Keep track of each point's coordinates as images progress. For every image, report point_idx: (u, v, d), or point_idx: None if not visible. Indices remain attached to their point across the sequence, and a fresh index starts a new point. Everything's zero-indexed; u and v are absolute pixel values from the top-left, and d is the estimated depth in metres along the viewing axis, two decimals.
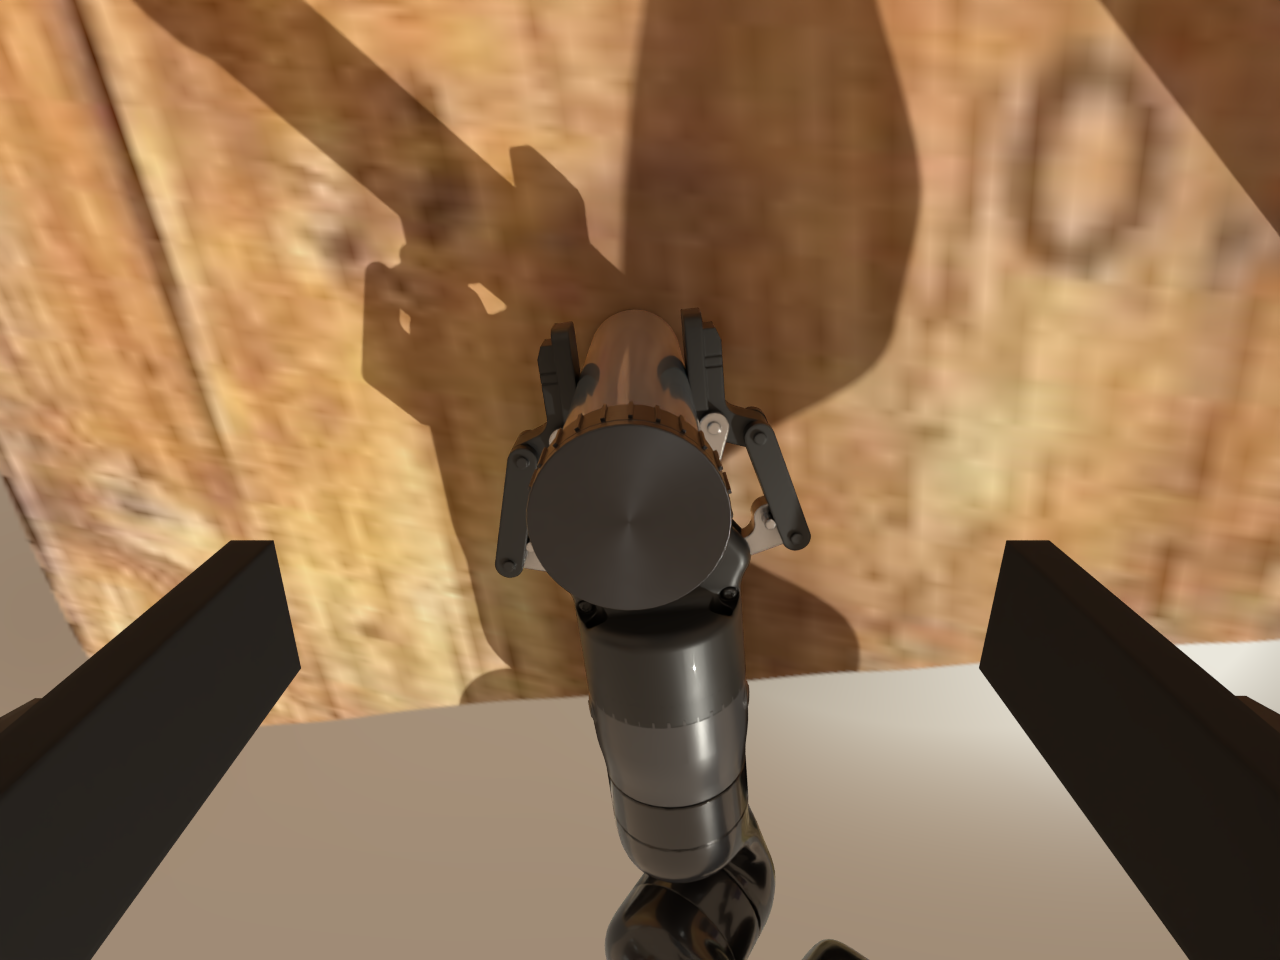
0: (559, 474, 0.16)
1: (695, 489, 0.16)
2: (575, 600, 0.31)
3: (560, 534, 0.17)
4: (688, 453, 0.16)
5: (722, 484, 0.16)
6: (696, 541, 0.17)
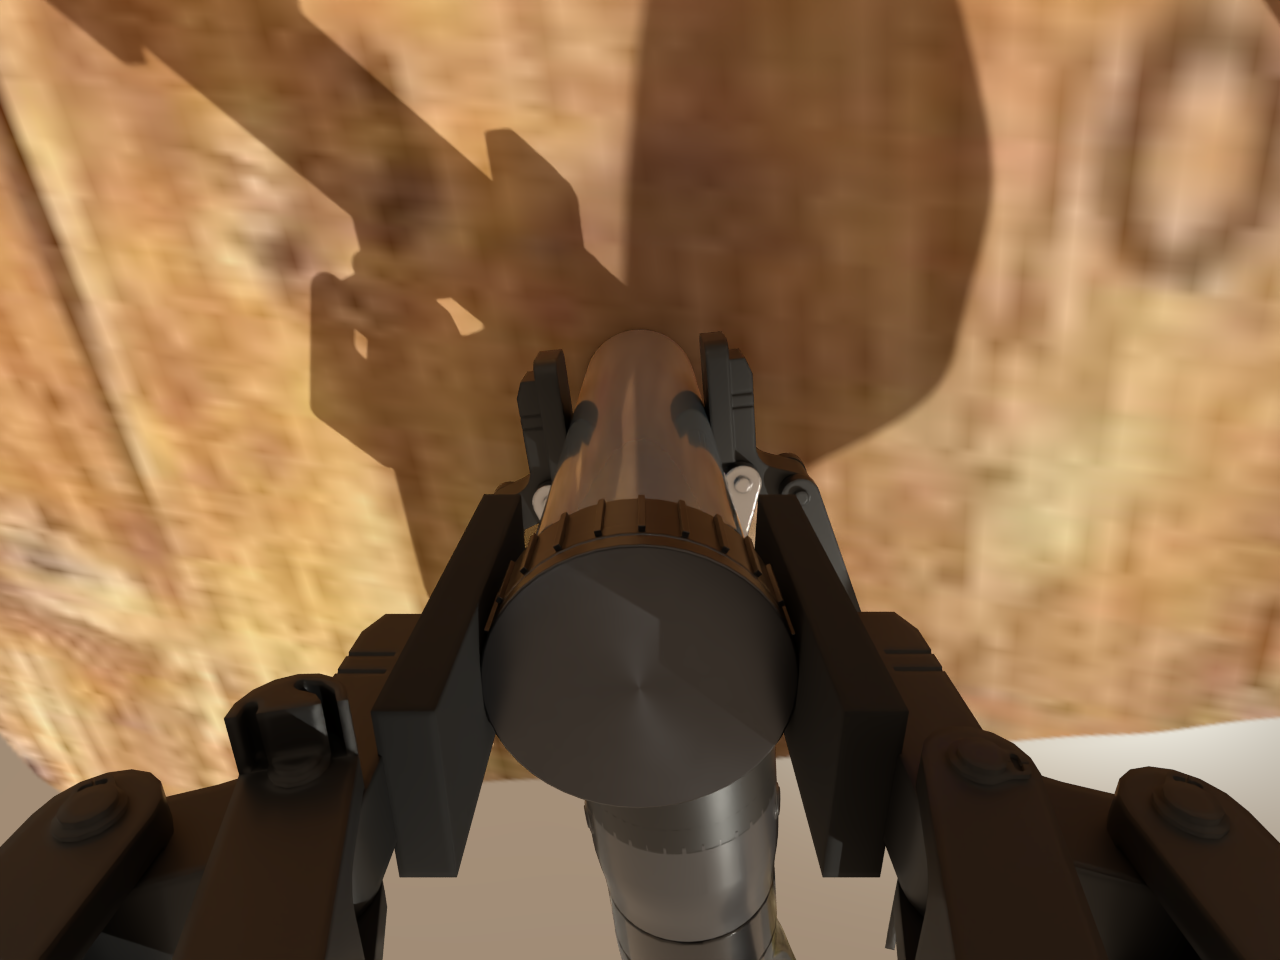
0: (529, 619, 0.10)
1: (744, 640, 0.10)
2: None
3: (533, 704, 0.11)
4: (734, 588, 0.10)
5: (786, 633, 0.10)
6: (743, 714, 0.11)
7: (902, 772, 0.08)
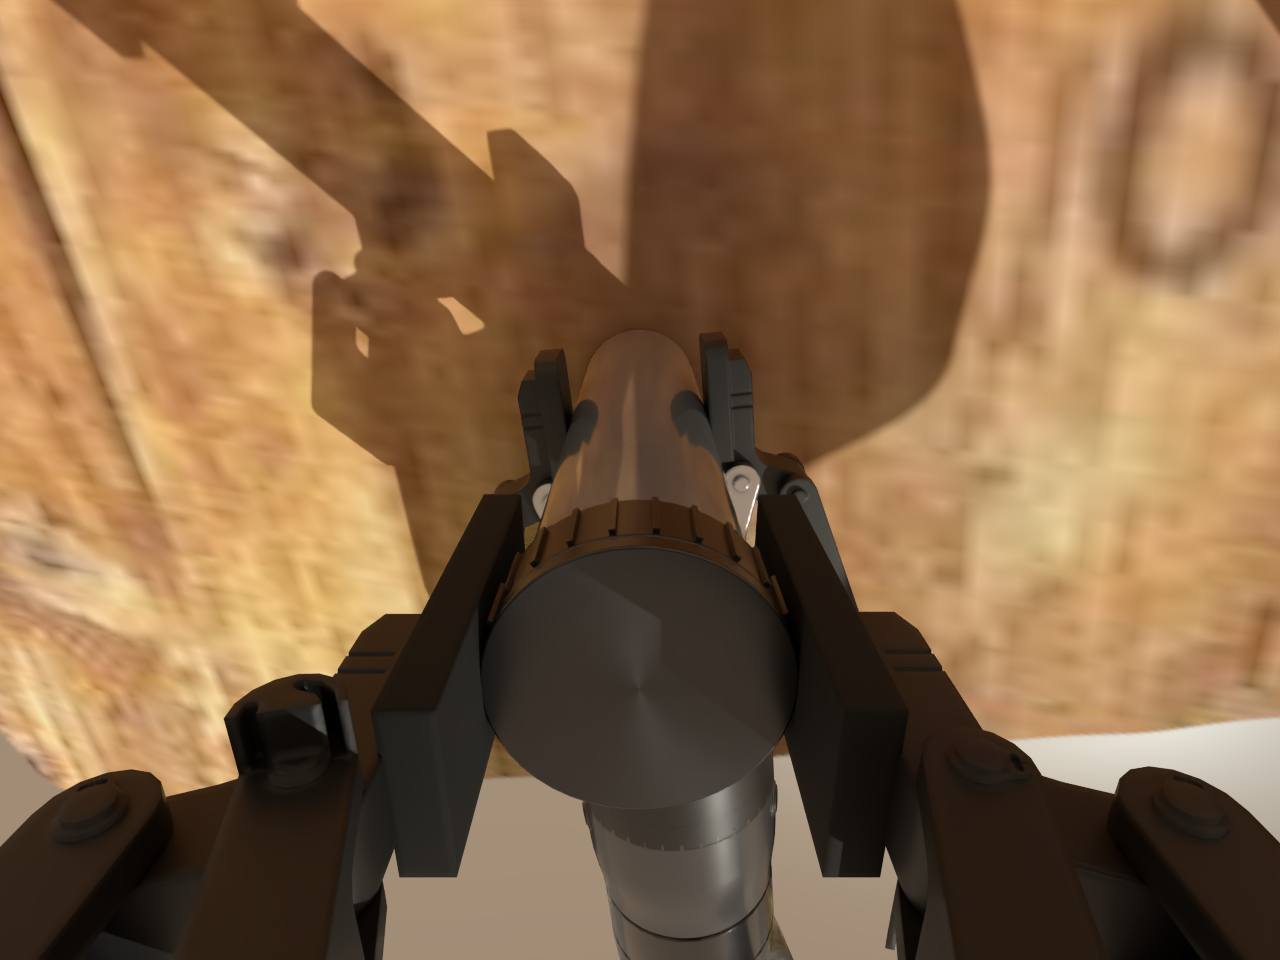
0: (612, 789, 0.11)
1: (541, 631, 0.10)
2: None
3: (700, 759, 0.11)
4: (495, 661, 0.11)
5: (514, 601, 0.10)
6: (623, 594, 0.10)
7: (902, 772, 0.08)
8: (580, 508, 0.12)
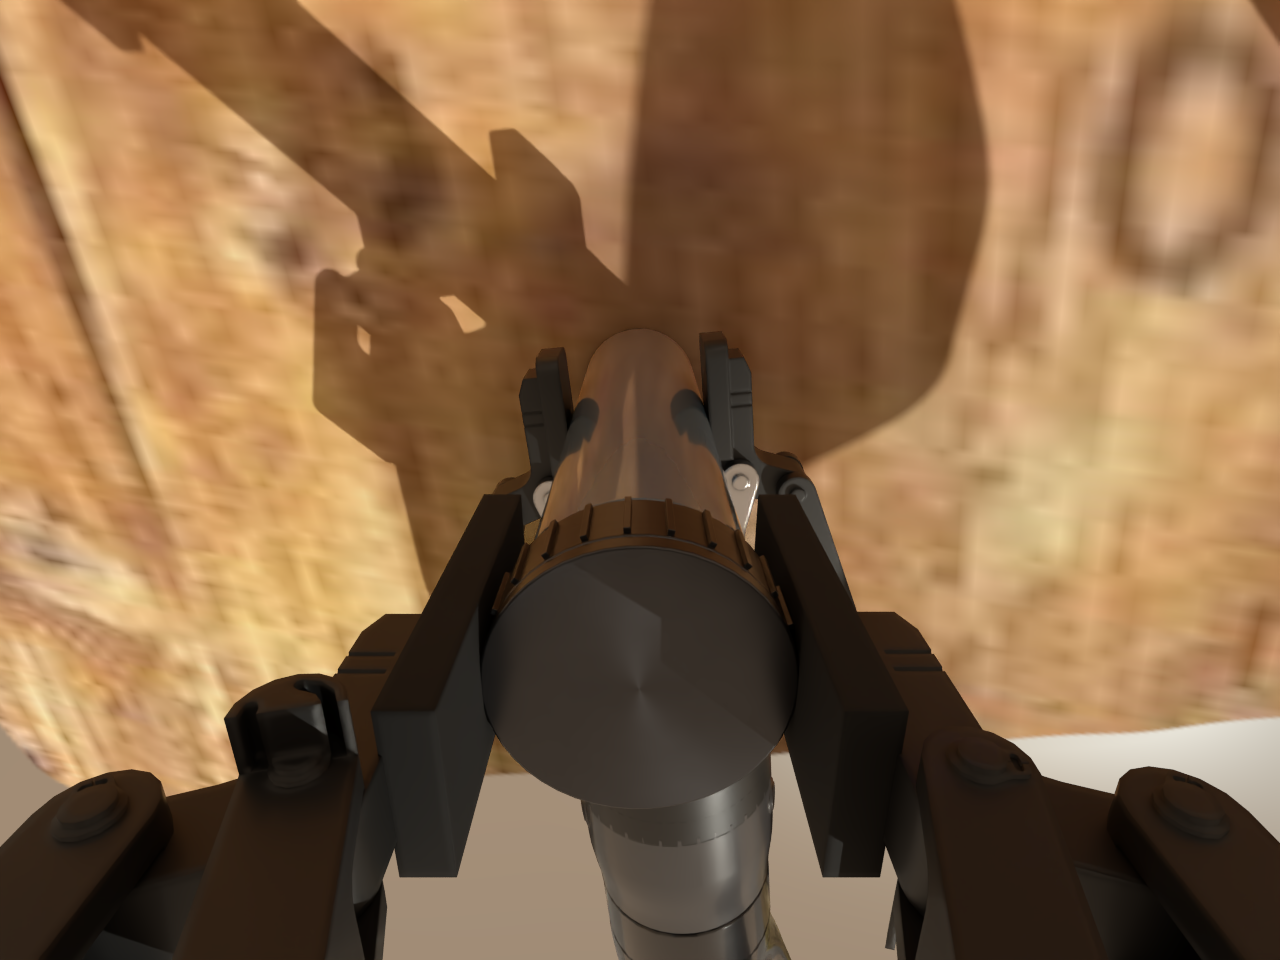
0: (770, 666, 0.11)
1: (618, 777, 0.11)
2: None
3: (695, 607, 0.10)
4: (667, 796, 0.12)
5: (600, 803, 0.12)
6: (549, 736, 0.11)
7: (903, 772, 0.08)
8: (582, 504, 0.12)
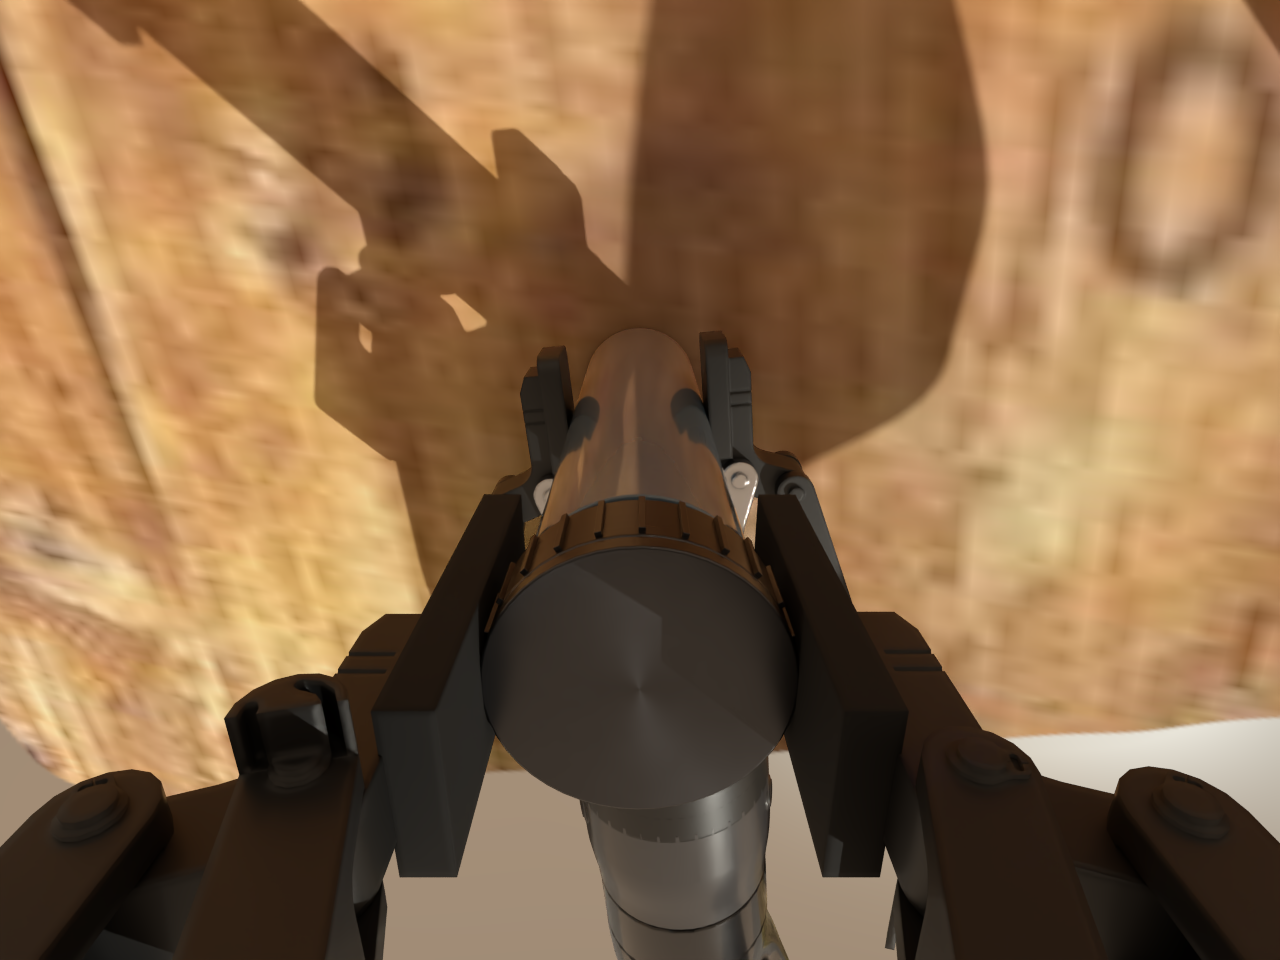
0: (554, 598, 0.10)
1: (754, 666, 0.11)
2: None
3: (529, 683, 0.11)
4: (760, 614, 0.10)
5: (795, 668, 0.11)
6: (730, 736, 0.11)
7: (902, 771, 0.08)
8: (583, 500, 0.13)
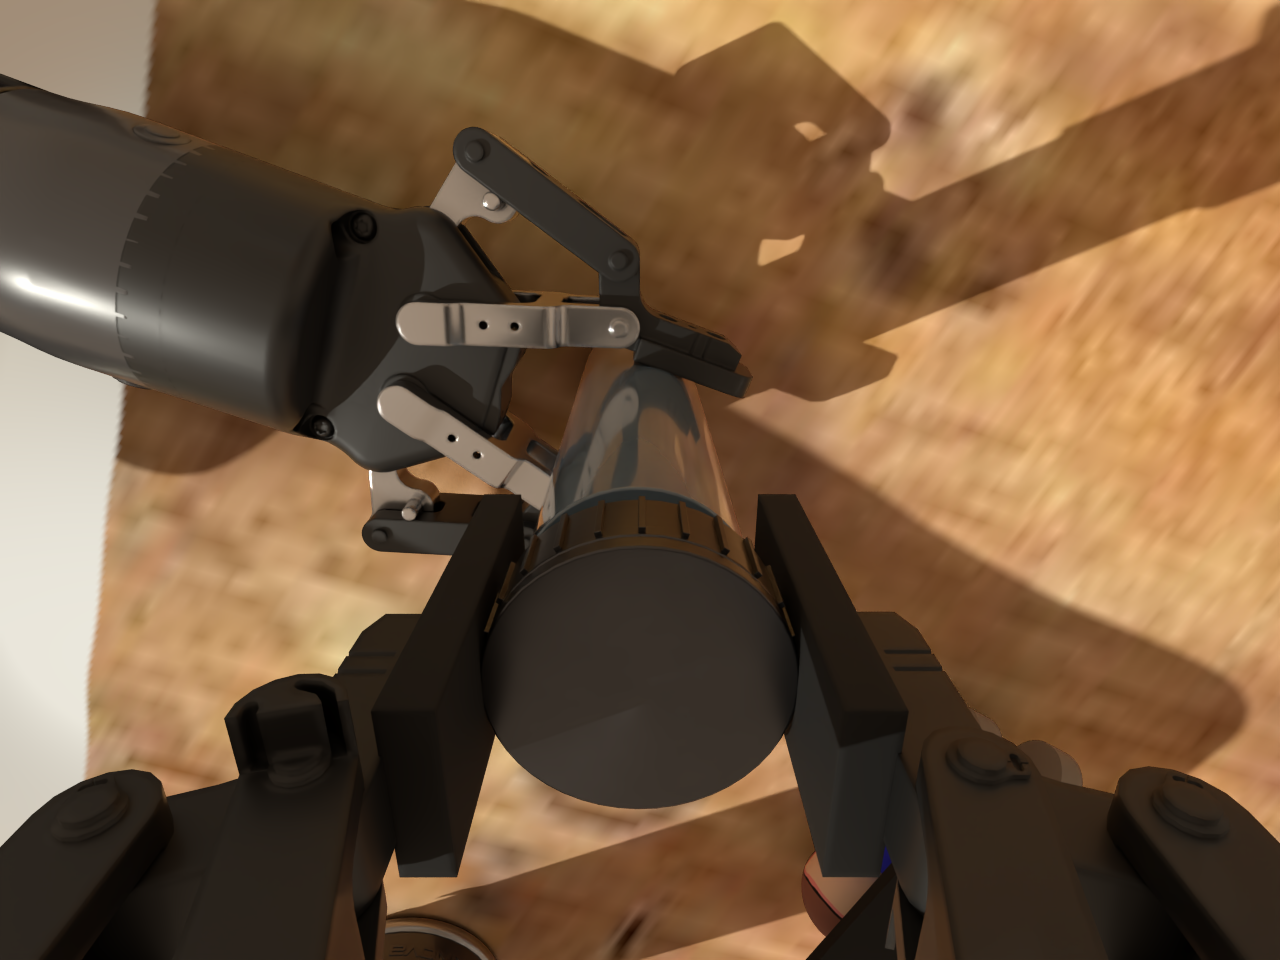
0: (554, 598, 0.10)
1: (753, 666, 0.11)
2: (378, 215, 0.20)
3: (529, 682, 0.11)
4: (760, 614, 0.10)
5: (795, 668, 0.11)
6: (730, 736, 0.11)
7: (902, 772, 0.08)
8: None
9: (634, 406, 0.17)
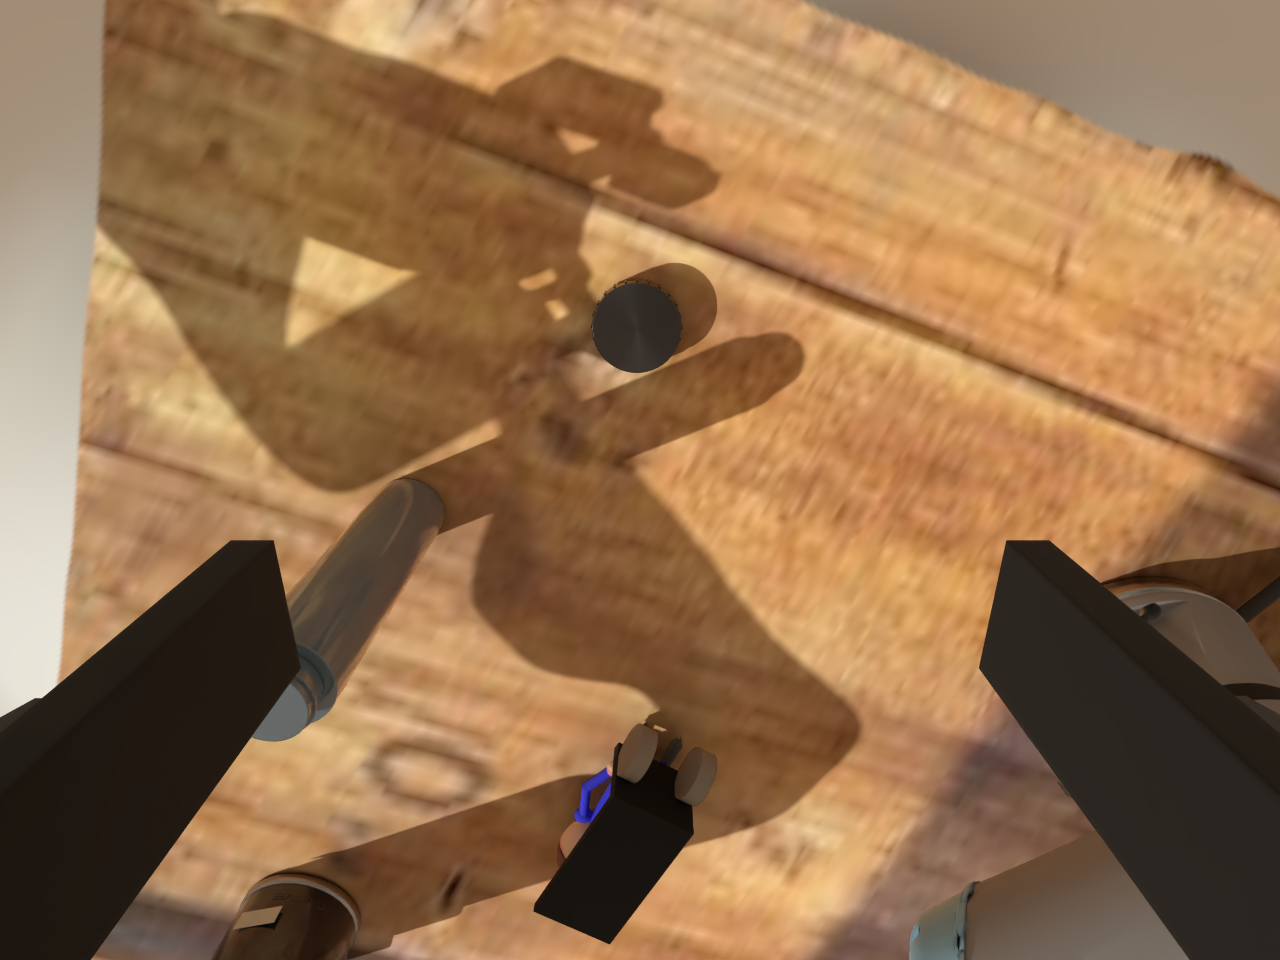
0: (613, 299, 0.38)
1: (668, 321, 0.38)
2: None
3: (606, 326, 0.38)
4: (669, 304, 0.38)
5: (679, 321, 0.38)
6: (662, 345, 0.39)
7: None
8: (339, 676, 0.29)
9: (324, 573, 0.33)
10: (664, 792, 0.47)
